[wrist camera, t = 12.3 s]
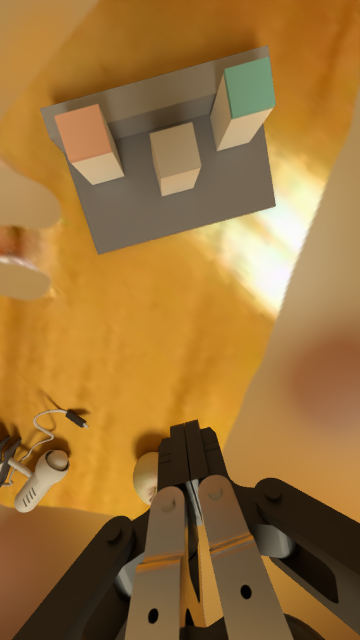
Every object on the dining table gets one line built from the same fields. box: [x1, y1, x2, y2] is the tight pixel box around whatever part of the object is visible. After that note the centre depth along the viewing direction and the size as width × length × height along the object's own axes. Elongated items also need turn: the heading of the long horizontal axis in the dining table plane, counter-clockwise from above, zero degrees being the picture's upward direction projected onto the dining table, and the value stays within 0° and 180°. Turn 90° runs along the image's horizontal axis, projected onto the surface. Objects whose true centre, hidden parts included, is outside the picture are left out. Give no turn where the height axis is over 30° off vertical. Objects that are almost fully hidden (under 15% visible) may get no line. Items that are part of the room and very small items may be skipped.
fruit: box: [133, 452, 158, 505], centre depth 41 cm, size 8×7×8 cm
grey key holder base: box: [40, 45, 276, 254], centre depth 32 cm, size 26×16×5 cm, turn 105°
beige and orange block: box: [54, 104, 124, 185], centre depth 28 cm, size 4×4×8 cm
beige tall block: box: [150, 122, 201, 196], centre depth 29 cm, size 4×4×8 cm
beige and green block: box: [210, 57, 276, 151], centre depth 28 cm, size 4×4×8 cm
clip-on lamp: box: [0, 409, 89, 512], centre depth 41 cm, size 12×6×18 cm
